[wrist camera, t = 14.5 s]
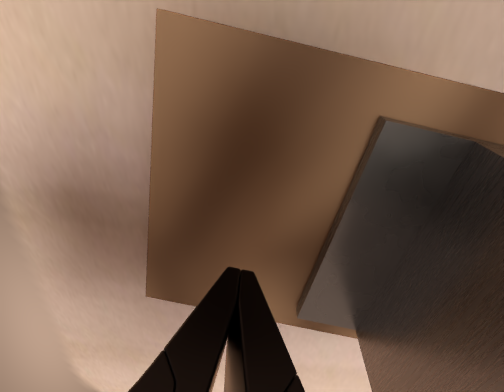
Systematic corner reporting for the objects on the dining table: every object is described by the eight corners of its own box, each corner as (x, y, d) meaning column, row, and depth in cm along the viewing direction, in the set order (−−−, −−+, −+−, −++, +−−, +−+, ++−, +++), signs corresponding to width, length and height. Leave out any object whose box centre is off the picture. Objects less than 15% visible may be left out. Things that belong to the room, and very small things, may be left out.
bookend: (518, 148, 10) (894, 329, 4) (389, 327, 15) (468, 528, 9) (380, 115, 10) (552, 253, 4) (296, 308, 15) (311, 502, 9)
